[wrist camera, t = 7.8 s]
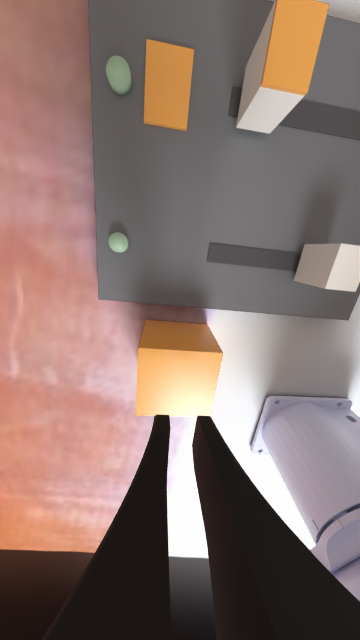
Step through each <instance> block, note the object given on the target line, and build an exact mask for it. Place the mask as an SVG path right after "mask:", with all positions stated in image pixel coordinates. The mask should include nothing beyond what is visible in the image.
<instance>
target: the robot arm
mask: <svg viewBox="0 0 360 640" xmlns="http://www.w3.org/2000/svg"><path fill="white" fill-rule="evenodd" d="M276 400H277V401H276ZM351 406H352V401H351V400H349V399H346V398H320V397H294V396H269V397H267V399H266V401H265V405H264V408H263V411H262V414H261V417H260V420H259V423H258V427H257V430H256V433H255V436H254V439H253V442H252V445H251V451H252V453H254V454H270V455H271V457H272V459H273V461H274V463H275V465H276V467H277V469H278V471H279V473H280V475H281V477H282V479H283V481H284V482H285V484H286V486H287V488H288V490H289V492H290V494H291V496H292V498H293V500H294V502H295V504H296V506H297V508H298V510H299V512H300V514H301V516H302V518H303V520H304V522H305V524H306V526H307V528H308V530H309V532H310V534H311V536H312V538H313V540H314V542H315V544H316V546H315V547H314V548H313V549H311V550H309V549H308V548H307V547H306V546H305V545H304V544H303V542H302V541H301V540H300V539H299V538H298V537H297V536H296V535H295V534H294V533H293V531H292V530H291V529H290V528H289V527H288V526H287V525H286V524H285V522H284V521H283V520H282V519H281V518H280V517H279V515H278V514H277V513H276V512H275V511H274V509H273V508H272V507H271V506H270V504H269V503H268V502H267V501H266V499H265V498H264V497H263V496H262V494H261V493H260V492H259V491H258V489H257V488H256V487H255V485H254V484H253V483H252V481H251V480H250V478H249V477H248V476H247V474H246V473H245V471H244V470H243V469H242V467H241V466H240V464H239V463H238V461H237V460H236V458H235V457H234V455H233V454H232V452H231V451H230V449H229V447H228V446H227V444H226V443H225V441H224V439H223V438H222V436H221V434H220V433H219V431H218V429H217V427H216V426H215V424H214V422H213V420H212V418H211V417H210V416H197V421H196V427H195V433H194V438H193V444H192V447H193V460H194V470H195V476H196V482H197V487H198V493H199V498H200V504H201V510H202V515H203V521H204V526H205V532H206V539H207V546H208V555H209V564H210V573H211V582H212V593H213V602H214V613H215V623H216V634H217V640H360V418H359V417H358V416H357V415H356V414H355V413H354V412H353V411H351V410H350V408H351ZM169 438H170V419H169V415H159V414H157V415H155V416H154V423H153V427H152V431H151V435H150V438H149V441H148V444H147V447H146V449H145V452H144V455H143V458H142V460H141V463H140V465H139V467H138V470H137V472H136V474H135V477H134V479H133V481H132V483H131V486H130V488H129V490H128V492H127V494H126V496H125V498H124V500H123V502H122V504H121V506H120V508H119V510H118V512H117V514H116V516H115V518H114V520H113V521H112V523H111V525H110V527H109V529H108V531H107V533H106V534H105V536H104V538H103V540H102V542H101V543H100V545H99V547H98V549H97V551H96V552H95V554H94V556H93V557H92V559H91V561H90V563H89V564H88V566H87V568H86V569H85V571H84V573H83V574H82V576H81V578H80V579H79V581H78V583H77V584H76V586H75V588H74V590H73V591H72V593H71V594H70V596H69V598H68V599H67V601H66V602H65V604H64V605H63V607H62V609H61V610H60V612H59V613H58V615H57V617H56V618H55V620H54V621H53V623H52V624H51V626H50V627H49V629H48V631H47V632H46V634H45V635H44V637H43V638H42V640H172V635H171V611H170V588H169V587H170V586H169V558H168V526H167V467H168V452H169Z"/></svg>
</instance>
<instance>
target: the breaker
mask: <svg viewBox="0 0 360 640" xmlns="http://www.w3.org/2000/svg"><path fill="white" fill-rule="evenodd" d="M294 281H297V282H300V283H304V284H308V285H312V286H316V287H320V288H324V289H332V290H342V291H352V292H356V290H357V287H358V285H359V282H360V246H358V245H350V244H342V243H338V244H305V245H304V248H303V251H302V255H301V258H300V261H299V265H298V268H297V271H296V275H295V278H294Z"/></svg>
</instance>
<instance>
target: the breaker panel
mask: <svg viewBox="0 0 360 640" xmlns="http://www.w3.org/2000/svg"><path fill="white" fill-rule="evenodd" d="M273 5H274V2H273V1H269V0H88V8H89V37H90V66H91V95H92V124H93V153H94V182H95V211H96V240H97V269H98V298H99V299H100V300H112V301H124V302H136V303H148V304H160V305H172V306H184V307H196V308H208V309H220V310H232V311H244V312H256V313H267V314H279V315H291V316H303V317H315V318H327V319H339V320H349V317H350V315H351V313H352V310H353V308H354V306H355V303H356V301H357V299H358V296H359V294H360V282H359V285H358V287H357V290H356V292H352V291H342V290H332V289H324V288H320V287H316V286H312V285H308V284H304V283H300V282H297V281H294V278H295V275H296V271H297V268H298V265H299V261H300V258H301V255H302V251H303V248H304V245H305V244H338V243H342V244H350V245H358V246H360V24H359V23H355V22H351V21H347V20H343V19H339V18H336V17H332V16H328V15H327V16H326V20H325V24H324V28H323V32H322V36H321V40H320V44H319V48H318V53H317V57H316V61H315V65H314V69H313V73H312V77H311V81H310V85H309V89H308V93H307V94H306V95H305V96H304V97H303V98H302V99H301V100H300V101H299V102H298V103H297V105H296V106H295V107H294V108H293V109H292V110H291V111H290V112H289V113H288V114H287V115H286V117H285V118H284V119H283V120H282V121H281V122H280V123H279V124H278V125H277V126H276V127H275V129H274V130H273V131H272V132H271V133H270V134H268V133H263V132H257V131H252V130H247V129H241V128H236V125H237V119H238V113H239V106H240V100H241V94H242V88H243V81H244V75H245V69H246V65H247V63H248V61H249V58H250V56H251V54H252V52H253V49H254V47H255V45H256V43H257V41H258V38H259V36H260V34H261V32H262V29H263V27H264V25H265V23H266V20H267V18H268V16H269V14H270V11H271V9H272V7H273Z"/></svg>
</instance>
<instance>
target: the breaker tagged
mask: <svg viewBox="0 0 360 640" xmlns="http://www.w3.org/2000/svg"><path fill="white" fill-rule="evenodd" d="M328 8H329V4H326V3H322V2H319V1H315V0H275V2H274V5H273V7H272V9H271V11H270V14H269V16H268V18H267V20H266V23H265V25H264V27H263V29H262V32H261V34H260V36H259V38H258V41H257V43H256V45H255V47H254V49H253V52H252V54H251V56H250V58H249V61H248V63H247V65H246V69H245V75H244V81H243V88H242V94H241V100H240V106H239V113H238V119H237V125H236V128H241V129H247V130H252V131H257V132H263V133H268V134H270V133H271V132H272V131H273V130H274V129H275V127H276V126H277V125H278V124H279V123H280V122H281V121H282V120H283V119H284V118H285V117H286V115H287V114H288V113H289V112H290V111H291V110H292V109H293V108H294V107H295V106H296V105H297V103H298V102H299V101H300V100H301V99H302V98H303V97H304V96H305V95H306V94H307V93H308V89H309V85H310V81H311V77H312V73H313V69H314V65H315V61H316V57H317V53H318V48H319V44H320V40H321V36H322V32H323V28H324V24H325V20H326V16H327V12H328Z"/></svg>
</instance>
